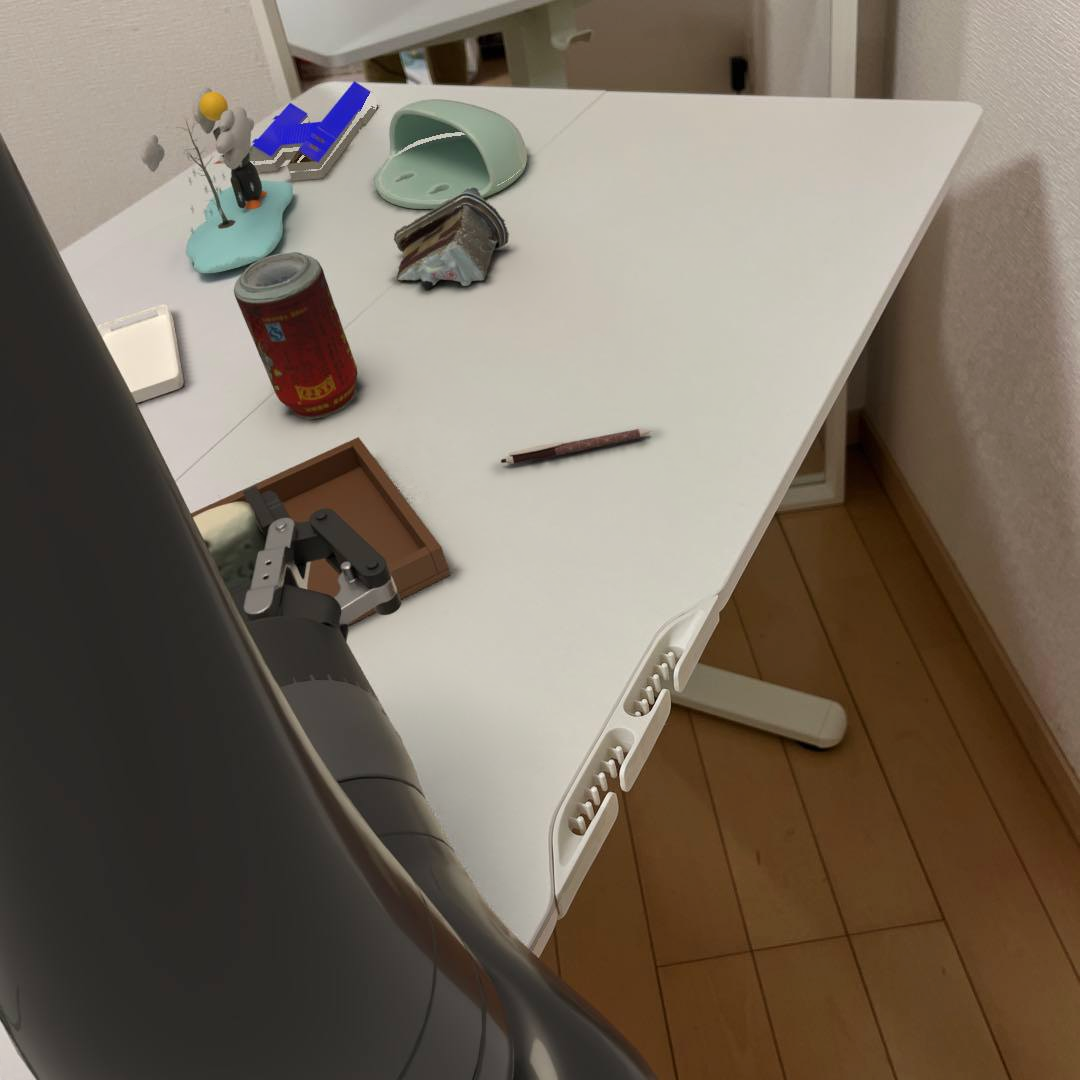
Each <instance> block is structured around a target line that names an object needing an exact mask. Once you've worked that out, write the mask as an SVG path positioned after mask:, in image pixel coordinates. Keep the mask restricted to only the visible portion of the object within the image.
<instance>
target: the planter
mask: <svg viewBox="0 0 1080 1080" xmlns="http://www.w3.org/2000/svg"><path fill="white" fill-rule="evenodd" d="M388 132H389V133H388V134H389V153H388V156H389V155H390V156H393V155H395V154H397V153H398V152H399V151H401V150H403V149H404V148H405V147H407V146H408V145H410V144H413V143H414V142H416V141H418V140H421V139H425V138H429V137H432V136H436V135H440V134H445V133H455V132H462V133H464V134H465V135H461V136H452V137H446V138H441V139H436V140H432V141H429V142H426V143H423V144H420V145H417V146H415V147H412V148H410V149H408V150H406V151H404V152H402V153H401V154H399V155H397V156H395V157H393V158H391V159H389V157H388V156H387V158H386V159H385V161H384V162H383V164H382V165H381V167H380V168H379V169H378V170H377V172H376V173H375V175H374V176H375V177H374V181H373V182H374V186H375V188H376V190H377V192H378V194H379V196H380V198H382V199H384V200H385V201H386V202H388V203H390V204H393V205H395V206H399V207H403V208H406V209H413V210H414V209H417V210H433V209H435V208H436V207H437V206H439V205H441V204H443V203H444V202H446V201H447V200H449V199H450V200H451V199H452V198H454V197H455V196H458V195H459V194H460V193H462V192H464V191H465V190H467V188H468V189H469V190H470V189H471V188H476V189H477V190H478V192H479V193H480V195H481V197H482V199H486V198H488V197H490V196H493V195H495V194H497V193H499V192H501V191H503V190H505V189H506V188H508V187H509V186H511V185H512V184H513V183H514V182H516V181H517V180H518V179H519V178H520V177H521V176H522V174H523V173H524V171H525V169H526V165H527V162H528V151H527V146H526V143H525V139H524V138H523V135H522V133H521V132H520V130H519V128H518V127H517V126H516V125H515V124H514V122H512V121H511V120H510V119H508V118H507V117H505V116H504V115H502V114H501V113H497V112H495V111H494V110H491V109H488V108H485V107H482V106H478V105H475V104H472V103H471V104H470V103H467V102H461V101H458V100H457V101H456V100H450V99H442V98H441V99H439V98H436V99H434V98H433V99H423V100H418V101H414V102H411V103H409V104H407V105H405V106H402V107H401V108H399V109H398V110H396V112H395V113H394V114H393V116H392V118H391V121H390V124H389V131H388ZM523 165H524V166H523ZM522 166H523V167H522ZM520 169H521V170H520ZM519 170H520V171H519ZM518 171H519V172H518ZM517 172H518V173H517ZM516 173H517V174H516ZM514 174H515V175H514ZM513 175H514V176H513ZM512 176H513V177H512ZM510 177H512V178H510ZM509 178H510V179H509ZM508 179H509V180H508ZM506 180H507V181H506ZM504 181H505V182H504ZM502 182H504V183H502ZM501 183H502V184H501ZM498 184H500V185H498ZM497 185H498V186H497Z"/></svg>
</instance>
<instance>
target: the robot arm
mask: <svg viewBox="0 0 1080 1080" xmlns="http://www.w3.org/2000/svg"><path fill="white" fill-rule="evenodd" d="M242 492H243V494H244V496H245V498H246V500H247V503H249V504H250V506H251V508H252V509H253V511H254V513H255V517H256V521H257V523H258V525H259V527H260V529H261V531H262V532H263V534H264V536H265V538H266V544H265V549H264V550H261V551H259V552H258V555H257V560H256V565H255V569H254V574H253V579H251V580H249V581H247V582H245V583H243V584H241V585H238V586H237V587H235V588H234V589H232V590H231V591H229V590H228V588H227V586H226V584H225V582H224V580H223V578H222V576H221V574H220V571H219V569H218V567H217V565H216V563H215V561H214V559H213V557H212V555H211V553H210V551H209V549H208V547H207V545H206V543H205V541H204V539H203V537H202V535H201V533H200V531H199V529H198V527H197V525H196V523H195V521H194V519H193V517H192V515H191V513H192V512H191V511H190V508H189V507H188V504H187V503H186V501H185V499H184V497H183V495H182V491H181V490H180V489H179V487H178V484H177V482H176V480H175V478H174V476H173V474H172V472H171V469H170V468H169V465H168V464H167V462H166V460H165V458H164V456H163V454H162V452H161V450H160V448H159V446H158V443H157V442H156V440H155V438H154V436H153V433H152V432H151V429H150V428H149V426H148V424H147V422H146V419H145V418H144V415H143V414H142V411H141V410H140V407H139V405H138V403H136V401H135V399H134V397H133V395H132V393H131V392H130V390H129V388H128V386H127V384H126V382H125V380H124V378H123V376H122V374H121V372H120V371H119V369H118V367H117V365H116V363H115V361H114V359H113V357H112V355H111V353H110V351H109V350H108V348H107V346H106V344H105V342H104V340H103V338H102V336H101V334H100V332H99V330H98V329H97V325H96V322H95V321H94V319H93V317H92V315H91V313H90V311H89V310H88V308H87V306H86V304H85V301H84V300H83V298H82V296H81V294H80V292H79V291H78V288H77V286H76V284H75V282H74V280H73V278H72V276H71V273H70V272H69V270H68V268H67V266H66V264H65V262H64V260H63V257H62V256H61V254H60V252H59V249H58V247H57V245H56V243H55V241H54V239H53V237H52V235H51V233H50V231H49V229H48V227H47V225H46V223H45V221H44V219H43V216H42V215H41V213H40V210H39V209H38V206H37V204H36V202H35V200H34V198H33V196H32V194H31V193H30V190H29V188H28V186H27V184H26V182H25V179H24V177H23V176H22V173H21V172H20V170H19V168H18V165H17V163H16V162H15V159H14V158H13V156H12V153H11V151H10V149H9V148H8V146H7V143H6V141H5V139H4V137H3V135H2V133H1V132H0V1023H1V1025H2V1027H3V1029H4V1031H5V1033H6V1034H7V1036H8V1038H9V1041H10V1042H11V1044H12V1046H13V1047H14V1049H15V1051H16V1053H17V1055H18V1056H19V1058H20V1059H21V1061H22V1062H23V1063H24V1065H25V1067H26V1068H27V1070H28V1071H29V1072H30V1074H31V1075H32V1076H33V1078H34V1080H660V1079H659V1077H658V1076H657V1074H656V1073H655V1071H654V1070H653V1069H652V1067H651V1065H650V1064H649V1062H648V1061H647V1060H646V1059H645V1057H644V1056H643V1055H642V1053H641V1052H640V1050H638V1048H637V1047H636V1046H634V1044H633V1043H632V1042H631V1041H630V1040H629V1039H628V1038H627V1037H626V1036H625V1035H624V1034H623V1033H622V1032H621V1031H620V1030H619V1029H618V1028H617V1027H616V1026H615V1025H614V1024H613V1022H611V1020H610V1019H608V1017H606V1016H605V1015H604V1014H603V1013H602V1012H601V1011H600V1010H598V1009H597V1008H596V1007H595V1006H594V1005H593V1004H592V1003H591V1002H590V1001H588V1000H587V999H586V998H585V997H584V996H583V995H581V994H580V993H579V992H578V991H577V990H576V989H575V988H573V987H572V986H571V985H570V984H569V983H567V981H565V979H563V978H562V977H561V976H559V975H558V974H557V973H556V972H555V971H553V970H552V968H550V967H549V966H548V965H547V964H546V963H545V962H543V960H541V958H539V957H538V956H537V955H536V954H535V953H534V952H533V951H532V950H531V949H530V948H528V946H527V945H525V943H524V942H523V941H521V939H520V938H519V937H518V936H517V935H516V934H515V933H514V932H513V930H511V929H510V928H509V927H508V925H507V924H505V922H504V921H503V920H502V918H501V917H499V915H498V914H497V913H496V912H495V910H494V909H493V908H492V906H491V905H490V904H489V902H488V901H487V899H486V898H485V897H484V895H483V894H482V892H481V891H480V890H479V889H478V887H477V886H476V884H475V883H474V882H473V879H472V877H470V875H469V873H468V872H467V870H466V868H465V867H464V865H463V863H462V862H461V860H460V858H459V857H458V855H457V853H456V851H455V849H454V848H453V845H452V843H451V842H450V840H449V839H448V837H447V835H446V833H445V832H444V829H443V828H442V826H441V824H440V823H439V820H438V818H437V817H436V815H435V813H434V811H433V809H432V808H431V806H430V804H429V802H428V800H427V798H426V796H425V793H424V791H423V788H422V785H421V783H420V780H419V777H418V773H417V771H416V768H415V766H414V763H413V761H412V759H411V758H412V757H411V756H410V754H409V752H408V750H407V748H406V746H405V744H404V742H403V739H402V738H401V735H400V734H399V732H398V731H397V729H396V728H395V726H394V725H393V722H392V721H391V720H390V717H389V716H388V714H387V712H386V711H385V708H384V707H383V705H382V703H381V701H380V699H379V698H378V696H377V694H376V692H375V691H374V689H373V687H372V685H371V683H370V682H369V680H368V678H367V677H366V674H365V673H364V671H363V669H362V668H361V665H360V664H359V662H358V660H357V658H356V656H355V655H354V653H353V651H352V650H351V647H350V646H349V643H348V637H349V629H350V628H349V627H350V626H348V624H349V623H350V622H352V621H353V620H355V619H357V618H358V617H360V616H361V615H363V614H364V613H366V612H368V611H369V610H371V609H372V608H373V609H374V610H375V611H376V612H375V613H377V614H378V615H380V616H388V615H393V614H394V613H396V612H397V611H398V610H399V609H400V608H401V606H402V599H400V596H399V594H398V591H397V588H396V586H395V583H394V580H393V578H392V575H391V573H390V570H389V567H388V565H387V562H386V560H385V559H384V558H383V557H382V556H381V555H380V554H379V553H378V552H377V551H376V550H375V549H374V548H372V547H371V546H370V545H369V544H368V543H367V542H366V541H365V540H364V539H363V538H362V537H361V536H360V535H359V534H358V533H356V532H355V531H354V530H353V529H352V528H351V527H350V526H349V525H348V524H347V523H346V522H345V521H344V520H343V519H342V518H340V517H339V516H338V515H337V514H336V513H335V512H334V511H333V510H331V509H327V508H325V509H320V510H318V511H316V512H314V513H313V514H312V515H311V516H310V518H309V521H307V522H295V521H293V520H292V519H291V518H290V516H289V514H288V513H287V511H286V509H285V507H284V506H283V504H282V502H281V500H280V499H279V497H278V495H277V494H276V493H275V492H273V491H271V490H269V491H266V492H264V493H262V494H260V492H259V491H258V489H257V487H256V486H253V487H251V488H249V489H247V490H245V491H242ZM324 558H325V560H326V561H327V563H328V564H329V565H330V566H331V567H332V568H333V569H334V570H335V571H336V572H337V573H338V574H339V577H338V584H339V586H340V591H339V593H338V594H337V595H336V596H335V597H334V598H333V597H332V596H330V595H328V594H324V593H320V592H316V591H312V590H308V588H307V584H308V577H309V571H310V564H311V561H315V560H320V559H324Z"/></svg>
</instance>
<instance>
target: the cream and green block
mask: <svg viewBox="0 0 1080 1080" xmlns="http://www.w3.org/2000/svg"><path fill="white" fill-rule="evenodd" d="M193 519H194V521H195V523H196V525H197V527H198V529H199V531H200V533H201V535H202V537H203V539H204V541H205V543H206V545H207V547H208V549H209V551H210V553H211V555H212V557H213V559H214V561H215V563H216V565H217V567H218V569H219V571H220V574H221V576H222V578H223V580H224V582H225V584H226V586H227V588H228V590H229V591H231V590H232V589H234V588H235V587H237V586H238V585H241V584H243V583H245V582H247V581H249V580H251V579H253V574H254V569H255V565H256V560H257V555H258V552H259V551H261V550H264V549H265V544H266V538H265V536H264V534H263V532H262V531H261V529H260V528H259V526H258V524H257V521H256V517H255V513H254V511H253V509H252V508H251V506H250V504H249V503H247V502H242V501H239V502H232V503H229V504H225V505H221V506H218V507H215V508H212V509H210V510H207V511H205V512H203V513H200V514H198V515H196V516H195V517H193Z"/></svg>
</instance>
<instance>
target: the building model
mask: <svg viewBox="0 0 1080 1080" xmlns="http://www.w3.org/2000/svg"><path fill="white" fill-rule="evenodd" d="M370 92H372V91H371V90H370V89H367V88H366V87H365V86H363V85H361V84H360V83H358V82H357V81H355V80H354V81H353V82H352V83H351V84H350V86H349V87H348V88H347V90H346V91H345V92H344V93H343V94H342V96H341V97H340V98H339V99H338V100H337V102H336V103H335V104H334V105H333V106H332V108H331V109H330V110H329V111H328V113H327V114H326V115H325V116H324V118H323V119H322V120H321V121H314V122H310V120H309V122H308V123H303V124H301V123H302V122H303V121H304V120H305V119H306V118H307V117H308V118H309V115H308V113H307V112H306V111H304V110H303V109H301V108H300V107H298V106H296V105H295V104H293V103H292V102H289V103H288V105H286V107H284V109H283V110H282V111H281V112H280V113H279V115H275V116H274V117H273V118H272V119H271V120H272V122H271V124H270V125H269V126H268V127H266V129H265V130H264V131H263V133H261V135H259V137H258V138H254V139H253V140H252V141H251V147H250V151H249V154H250V159H249V161H254V159H255V161H264V160H265V161H266V160H274V158H275V157H276V156H277V154H278V153H279V151H280V150H281V149H282V148H293V147H300V148H299V150H298V151H293V152H283V153H282V155H281V156H280V157H279V158H278V159H277V161H276V162H275V163H272V164H261V165H254V166H256V167H255V168H256V170H257V172H258V174H262V173H271V172H272V173H273V172H278V171H279V169H280V168H281V167H282V166H283V165H284V163H285V162H286V161H289V162H288V163H287V164H286V166H287V169H288V172H289V175H290V178H291V181H292V182H296V181H308V180H318V179H319V180H320V179H324V178H325V176H326V175H327V174H328V173H329V172H330V170H331V169H332V168H333V166H334V165H335V163H336V162H337V161H338V159H339V158H340V156H341V155H342V154H343V153H344V151H345V150H346V149H347V147H348V146H349V145H350V144H351V142H352V141H353V140H354V138H355V137H356V135H357V134H358V133H359V132H360V131H361V129H362V128H363V126H366V125H367V124H368V122H369V121H370V119H372V117H373V115H374V114H375V112H376V111H377V110H378V109H377V108H376V109H377V110H375V109H373V108H375V107H373V106H371V107H372V108H370V109H369V110H368V111H367V113H366V114H365V115H364V117H363V118H360V119H359V121H358V122H357V123H356V125H355V126H354V127H353V128H352V130H351V131H350V132H349V134H348V135H347V136H346V138H345V139H344V140H343V142H342V143H341V144H340V145H339V147H338V148H337V149H336V151H335V152H334V153H333V155H332V156H331V157H330V159H329V160H328V161H327V162H326V164H325V165H324V166H323V168H322V169H321V170H317V171H306V172H295V173H290V171H299V170H306V169H307V170H309V169H310V170H311V169H320V168H321V167H322V165H323V164H324V162H325V161H326V160H327V158H328V157H329V156H330V154H331V153H332V151H333V150H334V148H335V147H336V145H337V144H338V143H339V141H340V140H341V138H342V137H343V135H344V134H345V132H346V131H347V129H348V128H349V126H350V125H351V124H352V121H353V120H354V119H355V117H356V115H357V114H358V112H360V111H361V109H362V107H363V105H364V103H365V101H366V99H367V97H368V96H369V94H370ZM252 146H253V147H252ZM253 148H254V150H255V152H254V151H253ZM302 155H304V156H305V157H304V158H303V159H302V160H301V161H300V163H297V161H298V160H299V158H300V157H301V156H302Z"/></svg>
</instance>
